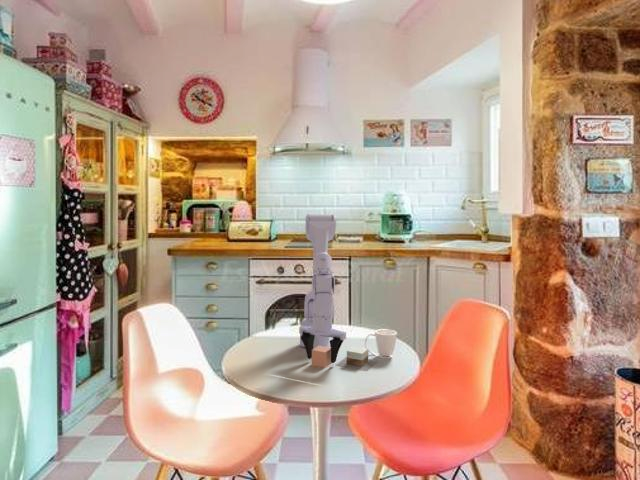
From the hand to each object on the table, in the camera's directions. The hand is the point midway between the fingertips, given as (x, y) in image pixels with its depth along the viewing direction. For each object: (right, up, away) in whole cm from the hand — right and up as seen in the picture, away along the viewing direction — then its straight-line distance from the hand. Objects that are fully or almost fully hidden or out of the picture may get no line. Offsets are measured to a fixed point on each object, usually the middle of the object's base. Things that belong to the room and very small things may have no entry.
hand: (321, 359), depth 141 cm
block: (0, -2, 0) cm, 2 cm away
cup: (+19, -1, +9) cm, 21 cm away
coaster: (+11, -2, +2) cm, 11 cm away
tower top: (+11, +1, +1) cm, 11 cm away
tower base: (+11, -1, +2) cm, 11 cm away
